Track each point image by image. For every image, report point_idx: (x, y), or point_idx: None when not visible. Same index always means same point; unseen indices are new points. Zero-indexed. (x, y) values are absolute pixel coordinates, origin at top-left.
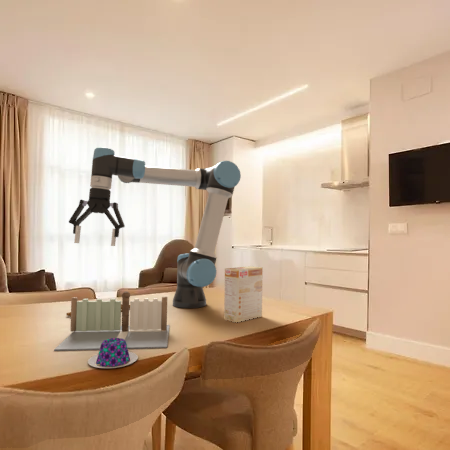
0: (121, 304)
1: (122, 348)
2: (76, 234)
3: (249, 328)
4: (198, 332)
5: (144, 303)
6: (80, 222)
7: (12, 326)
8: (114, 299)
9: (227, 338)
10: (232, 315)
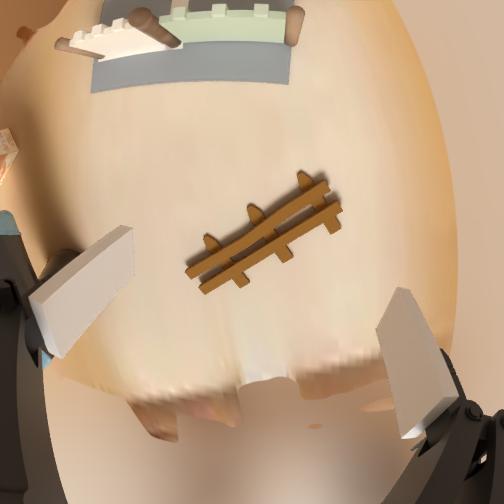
0: (213, 288)
1: None
2: (423, 332)
3: (2, 98)
4: (56, 59)
5: (106, 26)
6: (419, 458)
7: (432, 138)
8: (174, 8)
9: (32, 40)
10: (4, 136)
